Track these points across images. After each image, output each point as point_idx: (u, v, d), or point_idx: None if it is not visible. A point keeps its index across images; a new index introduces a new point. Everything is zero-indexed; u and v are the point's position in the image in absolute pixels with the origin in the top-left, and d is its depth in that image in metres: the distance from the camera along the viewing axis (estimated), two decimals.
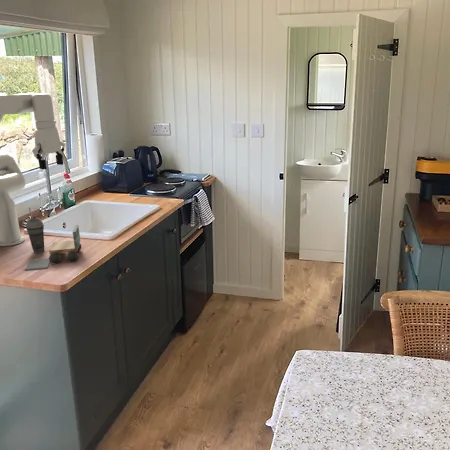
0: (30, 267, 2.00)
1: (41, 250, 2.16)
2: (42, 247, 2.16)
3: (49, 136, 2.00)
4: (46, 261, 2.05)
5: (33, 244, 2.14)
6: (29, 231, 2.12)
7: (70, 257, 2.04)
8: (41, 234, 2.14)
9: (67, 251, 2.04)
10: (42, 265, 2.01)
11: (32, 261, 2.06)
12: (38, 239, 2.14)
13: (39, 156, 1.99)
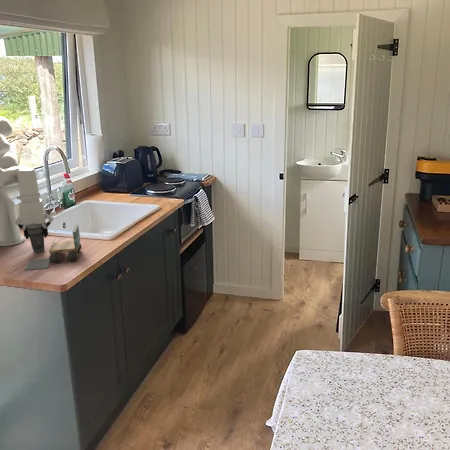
0: (30, 267, 2.00)
1: (41, 250, 2.16)
2: (42, 247, 2.16)
3: None
4: (46, 261, 2.05)
5: (33, 244, 2.14)
6: (29, 231, 2.12)
7: (70, 257, 2.04)
8: (41, 234, 2.14)
9: (67, 251, 2.04)
10: (42, 265, 2.01)
11: (32, 261, 2.06)
12: (38, 239, 2.14)
13: None
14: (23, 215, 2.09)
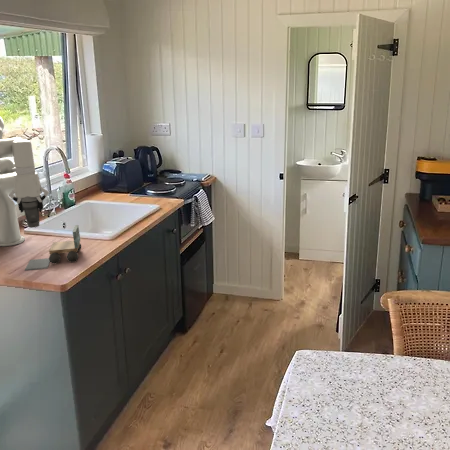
0: (30, 267, 2.00)
1: (36, 224, 2.13)
2: (37, 221, 2.13)
3: None
4: (46, 261, 2.05)
5: (28, 218, 2.11)
6: (24, 204, 2.08)
7: (70, 257, 2.04)
8: (36, 208, 2.11)
9: (67, 251, 2.04)
10: (42, 265, 2.01)
11: (32, 261, 2.06)
12: (33, 213, 2.10)
13: None
14: (17, 188, 2.06)
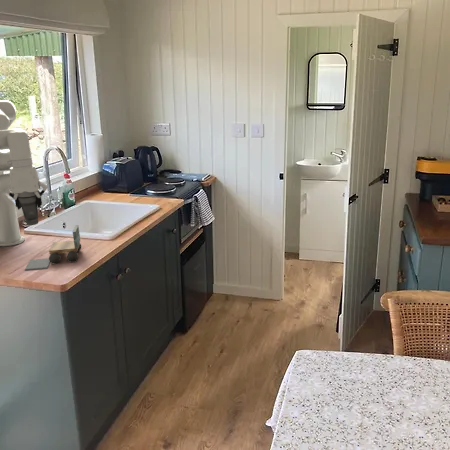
0: (30, 267, 2.00)
1: (34, 222, 1.97)
2: (36, 218, 1.97)
3: None
4: (46, 261, 2.05)
5: (26, 215, 1.95)
6: (21, 200, 1.93)
7: (70, 257, 2.04)
8: (35, 204, 1.96)
9: (67, 251, 2.04)
10: (42, 265, 2.01)
11: (32, 261, 2.06)
12: (31, 209, 1.95)
13: None
14: (14, 182, 1.91)
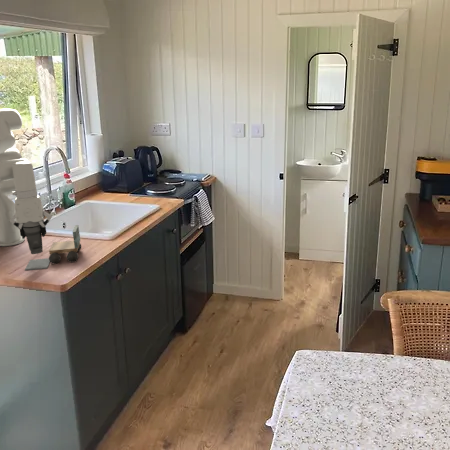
0: (30, 267, 2.00)
1: (39, 250, 2.00)
2: (40, 247, 2.00)
3: None
4: (46, 261, 2.05)
5: (30, 244, 1.98)
6: (26, 230, 1.96)
7: (70, 257, 2.04)
8: (39, 233, 1.98)
9: (67, 251, 2.04)
10: (42, 265, 2.01)
11: (32, 261, 2.06)
12: (35, 238, 1.97)
13: None
14: (19, 213, 1.93)
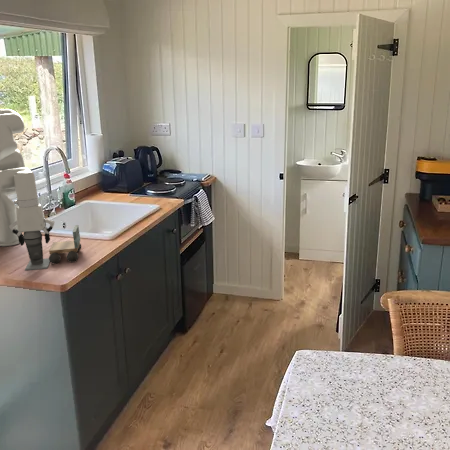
0: (30, 267, 2.00)
1: (39, 262, 2.02)
2: (40, 258, 2.02)
3: None
4: (46, 261, 2.05)
5: (31, 255, 2.00)
6: (26, 242, 1.97)
7: (70, 257, 2.04)
8: (40, 245, 2.00)
9: (67, 251, 2.04)
10: (42, 265, 2.01)
11: None
12: (36, 250, 1.99)
13: None
14: (20, 221, 1.94)
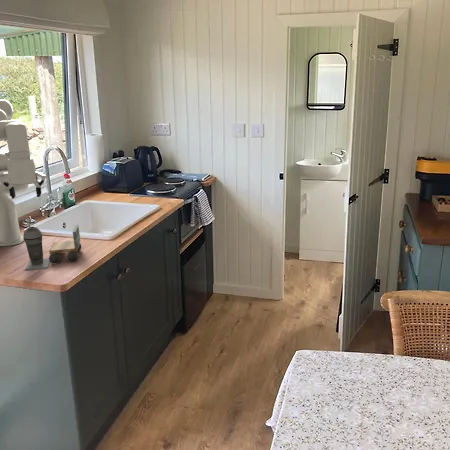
0: (30, 267, 2.00)
1: (39, 262, 2.02)
2: (40, 258, 2.02)
3: None
4: (46, 261, 2.05)
5: (31, 255, 2.00)
6: (26, 241, 1.97)
7: (70, 257, 2.04)
8: (40, 245, 2.00)
9: (67, 251, 2.04)
10: (42, 265, 2.01)
11: None
12: (36, 250, 1.99)
13: None
14: (11, 174, 1.93)
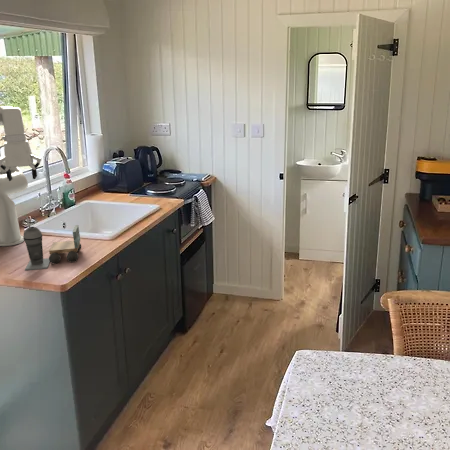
0: (30, 267, 2.00)
1: (39, 262, 2.02)
2: (40, 258, 2.02)
3: None
4: (46, 261, 2.05)
5: (31, 255, 2.00)
6: (26, 241, 1.97)
7: (70, 257, 2.04)
8: (40, 245, 2.00)
9: (67, 251, 2.04)
10: (42, 265, 2.01)
11: None
12: (36, 250, 1.99)
13: None
14: (8, 156, 2.02)
